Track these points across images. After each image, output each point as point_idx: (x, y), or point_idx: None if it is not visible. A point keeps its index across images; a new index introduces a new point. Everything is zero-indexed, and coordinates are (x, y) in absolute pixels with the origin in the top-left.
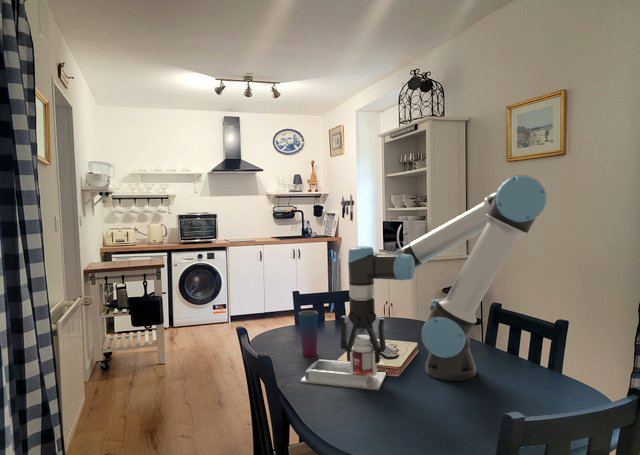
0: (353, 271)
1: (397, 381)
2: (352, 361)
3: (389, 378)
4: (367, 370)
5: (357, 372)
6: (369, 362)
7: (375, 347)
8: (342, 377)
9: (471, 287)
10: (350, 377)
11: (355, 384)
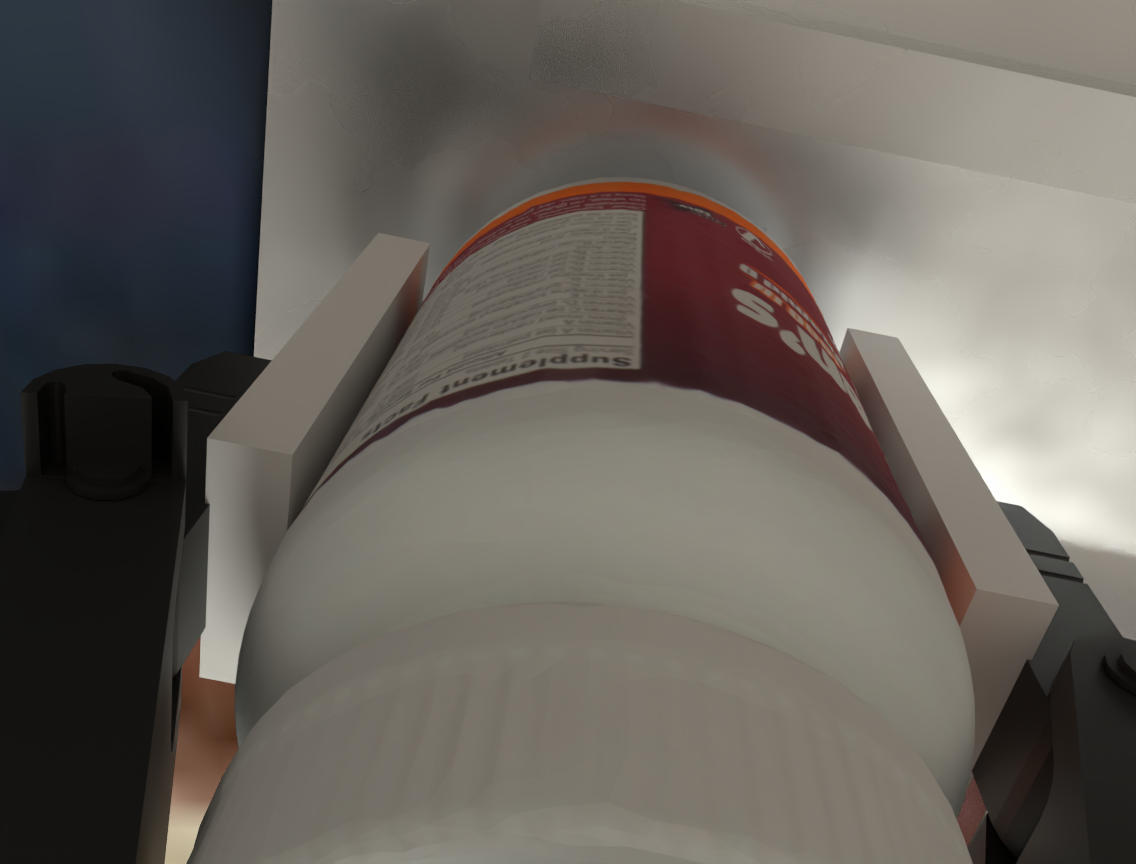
0: None
1: (24, 239)
2: (906, 441)
3: (182, 364)
4: (521, 220)
5: (757, 234)
6: (439, 314)
7: (64, 571)
8: (1104, 86)
9: None
10: (923, 49)
11: None
